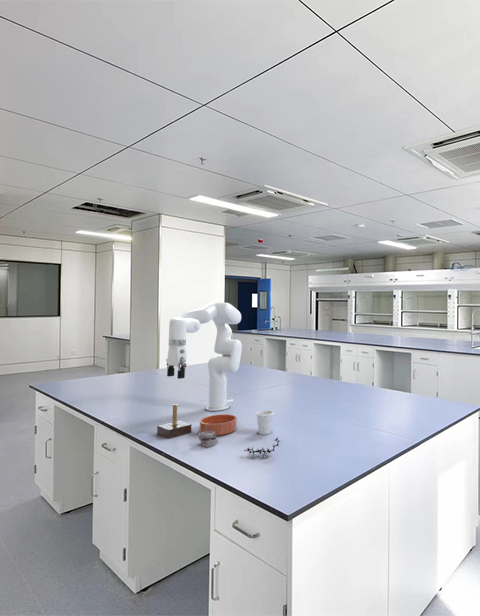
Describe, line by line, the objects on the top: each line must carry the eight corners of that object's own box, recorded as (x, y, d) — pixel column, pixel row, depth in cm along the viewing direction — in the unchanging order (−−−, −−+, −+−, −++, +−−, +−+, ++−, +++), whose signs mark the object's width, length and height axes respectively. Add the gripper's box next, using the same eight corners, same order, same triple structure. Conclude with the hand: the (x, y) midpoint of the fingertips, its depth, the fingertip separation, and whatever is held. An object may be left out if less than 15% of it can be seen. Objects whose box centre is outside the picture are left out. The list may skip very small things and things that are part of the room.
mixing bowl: (223, 423, 198) (223, 412, 198) (243, 429, 190) (243, 418, 190) (192, 432, 184) (192, 420, 184) (212, 439, 176) (212, 426, 176)
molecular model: (245, 453, 159) (246, 434, 159) (281, 453, 161) (282, 434, 161) (241, 460, 153) (241, 440, 153) (278, 459, 155) (279, 439, 155)
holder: (179, 428, 189) (179, 420, 189) (191, 432, 184) (191, 424, 184) (157, 434, 180) (157, 425, 180) (168, 438, 175) (168, 429, 175)
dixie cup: (256, 436, 181) (257, 415, 181) (254, 430, 189) (255, 411, 189) (274, 433, 185) (275, 413, 185) (272, 428, 193) (272, 409, 193)
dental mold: (205, 440, 174) (205, 429, 174) (219, 441, 174) (219, 430, 174) (195, 446, 166) (195, 435, 166) (210, 447, 166) (210, 436, 166)
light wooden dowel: (175, 432, 183) (176, 403, 183) (177, 433, 183) (178, 404, 183) (171, 433, 182) (172, 404, 182) (173, 434, 181) (174, 405, 181)
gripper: (194, 343, 187) (192, 378, 186) (175, 341, 196) (174, 374, 195) (178, 344, 180) (177, 380, 180) (160, 342, 189) (159, 376, 189)
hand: (175, 377), depth 187 cm, fingers open, 9 cm apart
